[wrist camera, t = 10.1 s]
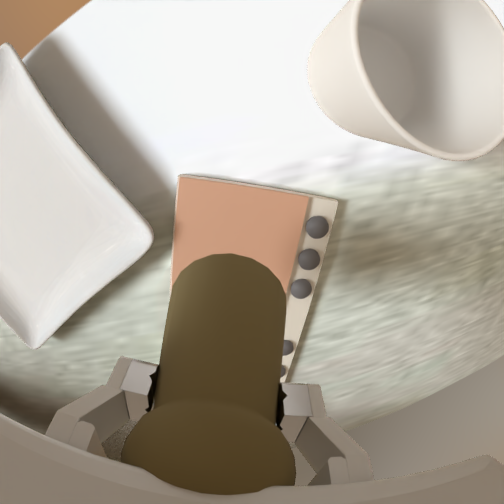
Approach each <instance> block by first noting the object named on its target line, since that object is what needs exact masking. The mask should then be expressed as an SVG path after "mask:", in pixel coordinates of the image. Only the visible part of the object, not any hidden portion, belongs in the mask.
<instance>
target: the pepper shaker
mask: <svg viewBox="0 0 504 504" xmlns="http://www.w3.org/2000/svg"><path fill="white" fill-rule="evenodd" d="M285 323H286V294H285V292H284V289H283V287H282V284H281V282H280V280H279V279H278V278H277V277H276V276H275V275H274V274H273V273H272V271H271V270H270V269H269V268H268V267H266V266H264V265H263V264H261V263H259V262H257V261H256V260H254V259H252V258H249V257H245V256H241V255H237V254H233V253H228V254H212V255H209V256H206V257H203V258H201V259H198V260H195V261H193V262H192V263H191V264H190V265H188V266H187V267H186V268H185V269H184V270H182V271H181V272H180V274H179V276H178V277H177V279H176V281H175V282H174V284H173V286H172V291H171V297H170V302H169V308H168V313H167V319H166V325H165V331H164V337H163V343H162V349H161V356H160V363H159V366H160V367H159V371H158V376H157V384H156V391H155V399H154V407H153V410H152V411H150V412H148V413H146V414H144V415H143V416H142V417H141V419H140V420H139V421H138V423H137V424H136V425H135V427H134V428H133V430H132V431H131V432H130V434H129V435H128V437H127V438H126V441H125V444H124V447H123V449H122V452H121V462H122V463H125V464H129V465H133V466H137V467H140V468H143V469H145V470H146V471H148V472H149V473H151V474H153V475H154V476H156V477H157V478H158V479H160V480H162V481H164V482H167V483H169V484H171V485H173V486H176V487H179V488H183V489H187V490H190V491H194V492H198V493H204V494H215V495H237V494H247V493H255V492H259V491H261V490H263V489H265V488H268V487H271V486H294V485H295V478H296V468H295V459H294V455H293V452H292V450H291V448H290V445H289V443H288V441H287V439H286V438H285V436H284V435H283V433H282V432H281V430H280V429H279V428H278V427H277V426H275V424H276V415H277V406H278V391H279V384H280V378H281V368H282V357H283V346H284V335H285Z"/></svg>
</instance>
